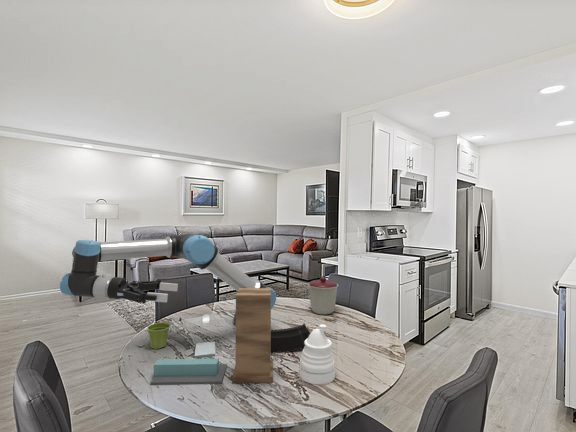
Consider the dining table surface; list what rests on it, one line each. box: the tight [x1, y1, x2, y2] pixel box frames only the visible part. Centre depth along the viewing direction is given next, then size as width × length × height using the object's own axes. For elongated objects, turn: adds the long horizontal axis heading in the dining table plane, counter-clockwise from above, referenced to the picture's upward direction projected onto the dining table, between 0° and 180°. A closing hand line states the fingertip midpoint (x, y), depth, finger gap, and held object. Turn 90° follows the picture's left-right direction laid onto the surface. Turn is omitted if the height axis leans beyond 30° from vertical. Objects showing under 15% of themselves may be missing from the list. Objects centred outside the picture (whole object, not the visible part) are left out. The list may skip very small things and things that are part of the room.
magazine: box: [271, 323, 312, 354], centre depth 128 cm, size 17×3×30 cm
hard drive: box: [193, 341, 216, 359], centre depth 128 cm, size 2×8×12 cm
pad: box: [149, 363, 228, 386], centre depth 109 cm, size 12×24×1 cm, turn 92°
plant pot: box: [146, 322, 171, 350], centre depth 132 cm, size 9×9×9 cm
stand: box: [231, 287, 274, 384], centre depth 110 cm, size 12×14×30 cm
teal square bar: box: [153, 358, 220, 377], centre depth 109 cm, size 4×22×4 cm, turn 92°
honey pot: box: [299, 324, 336, 386], centre depth 110 cm, size 13×13×18 cm
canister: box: [307, 275, 340, 316], centre depth 179 cm, size 18×18×21 cm
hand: (172, 292), depth 110 cm, fingers open, 13 cm apart
